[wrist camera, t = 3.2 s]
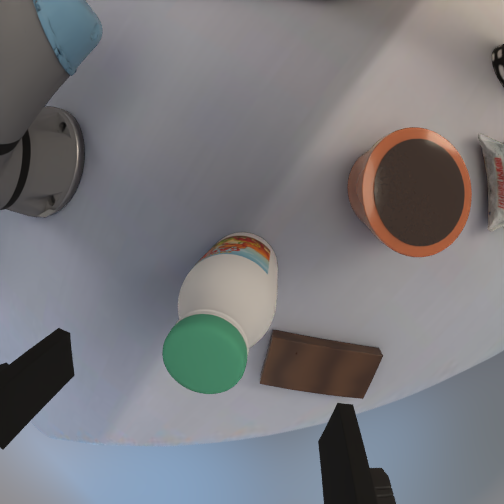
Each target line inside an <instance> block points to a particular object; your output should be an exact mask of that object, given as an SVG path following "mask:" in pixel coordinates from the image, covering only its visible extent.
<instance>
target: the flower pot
mask: <svg viewBox="0 0 504 504" xmlns="http://www.w3.org/2000/svg"><path fill="white" fill-rule="evenodd" d="M471 196H472V193H471V183H470V177H469V174H468V170H467V168H466V165H465V163H464V161H463V159H462V157H461V156H460V154H459V153H458V151H457V150H456V149H455V148H454V146H453V145H452V144H451V143H450V142H449V141H447V140H446V139H445V138H444V137H442V136H441V135H439V134H437V133H435V132H433V131H431V130H428V129H424V128H415V127H411V128H404V129H400V130H397V131H395V132H392V133H390V134H388V135H386V136H384V137H383V138H381V139H380V140H379V141H377V142H376V143H375V144H374V145H373V146H372V148H371V149H370V150H369V151H367V152H366V153H364V154H363V155H362V156H361V157H359V158H358V160H357V161H356V162H355V164H354V165H353V167H352V169H351V172H350V175H349V178H348V197H349V201H350V204H351V207H352V209H353V211H354V212H355V214H356V215H357V217H358V218H359V219H360V220H361V221H362V222H363V223H364V224H366V225H367V226H368V228H369V229H370V231H371V232H372V233H373V234H374V236H375V237H376V238H377V239H378V240H379V241H381V242H382V243H383V244H385V245H386V246H387V247H389V248H391V249H392V250H394V251H396V252H398V253H400V254H403V255H406V256H411V257H426V256H430V255H434V254H436V253H438V252H441V251H442V250H444V249H445V248H447V247H448V246H449V245H451V244H452V243H453V242H454V241H455V239H456V238H457V237H458V236H459V234H460V233H461V231H462V230H463V228H464V226H465V224H466V221H467V219H468V216H469V212H470V207H471Z"/></svg>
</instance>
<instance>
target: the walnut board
mask: <svg viewBox="0 0 504 504" xmlns="http://www.w3.org/2000/svg"><path fill="white" fill-rule="evenodd" d="M382 357H383V355H382V353H381V351H380V349H379V348H376V347H369V346H362V345H356V344H350V343H344V342H338V341H332V340H326V339H320V338H315V337H309V336H304V335H299V334H293V333H288V332H283V331H278V330H273V332H272V335H271V339H270V343H269V347H268V350H267V354H266V358H265V361H264V365H263V368H262V372H261V377H260V384H264V385H269V386H275V387H280V388H286V389H292V390H298V391H305V392H311V393H318V394H326V395H334V396H342V397H352V398H362V399H363V398H364V396H365V394H366V392H367V390H368V387H369V385H370V383H371V381H372V379H373V377H374V375H375V373H376V370H377V368H378V366H379V364H380V361H381V359H382Z"/></svg>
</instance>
